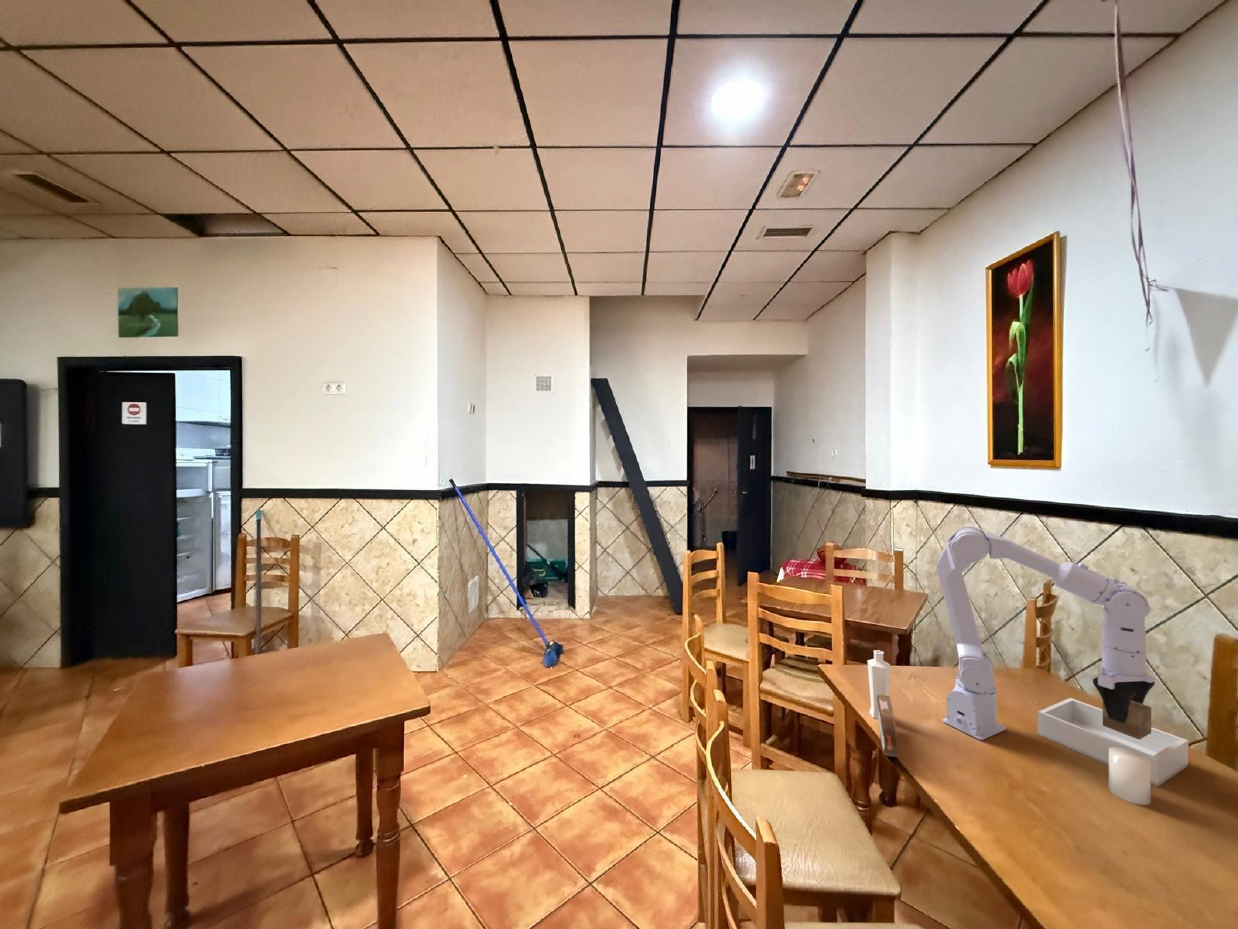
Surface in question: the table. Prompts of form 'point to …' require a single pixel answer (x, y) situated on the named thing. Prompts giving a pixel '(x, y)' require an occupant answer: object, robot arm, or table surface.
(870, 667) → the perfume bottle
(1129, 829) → the table surface
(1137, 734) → the walnut cube
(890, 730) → the tin
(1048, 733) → the tote
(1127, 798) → the ceramic cylinder
